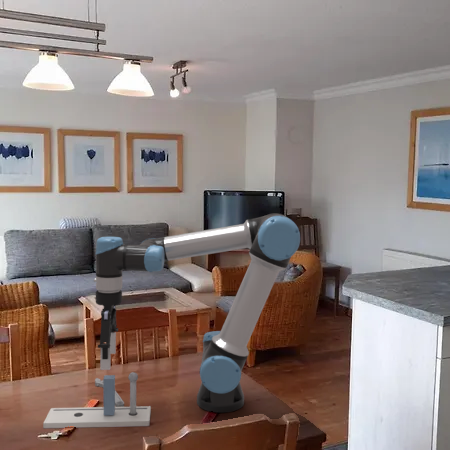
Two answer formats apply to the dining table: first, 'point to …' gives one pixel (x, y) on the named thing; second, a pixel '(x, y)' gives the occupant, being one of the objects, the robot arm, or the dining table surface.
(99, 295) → the robot arm
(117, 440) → the dining table surface
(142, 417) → the plate
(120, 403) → the adjustable wrench
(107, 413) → the post
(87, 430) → the dining table surface
